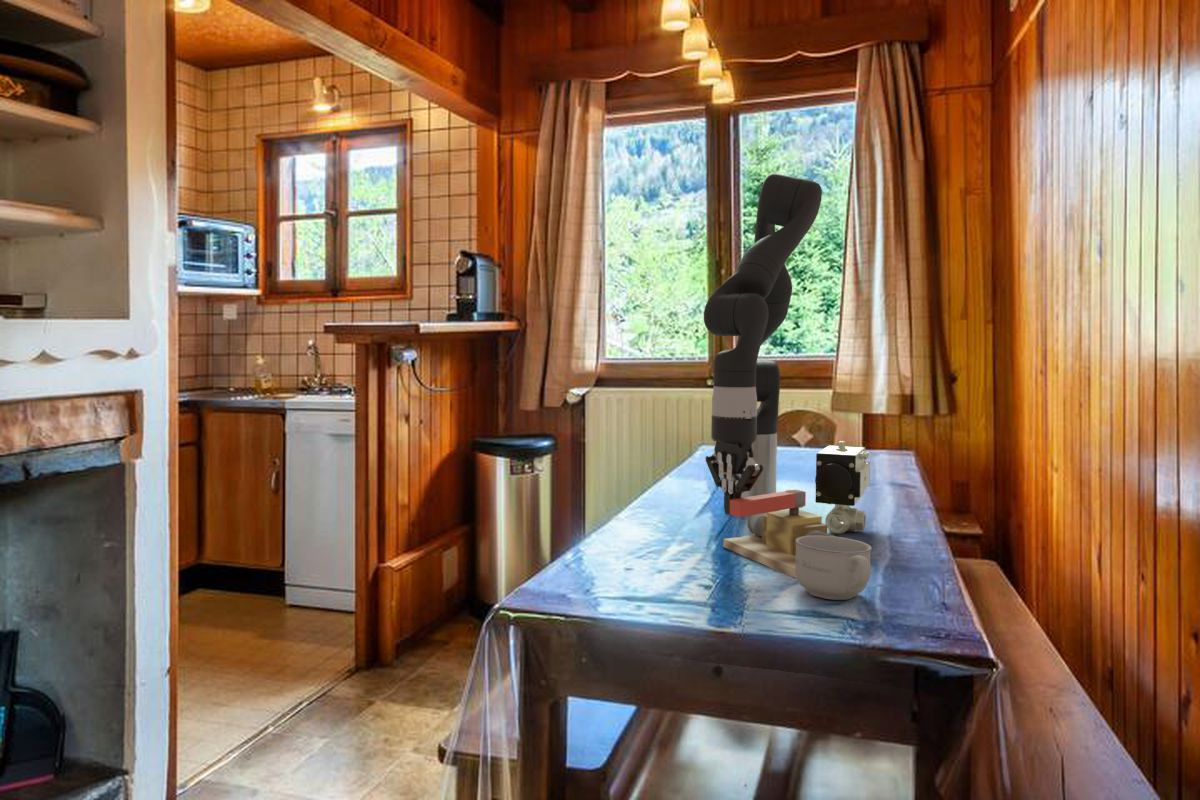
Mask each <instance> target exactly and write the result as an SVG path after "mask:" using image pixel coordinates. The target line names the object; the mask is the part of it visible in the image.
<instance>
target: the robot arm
mask: <svg viewBox="0 0 1200 800" xmlns="http://www.w3.org/2000/svg"><path fill="white" fill-rule="evenodd" d="M758 196H759V197H758V201H757V210H756V219H755V220H756V221H755V232H754V241H753V244H752V245H751V246H750V247H749V248H748V249H747V250H746V251H745V252H744V254H743V255H742V257H741V259H740V260H739V263H738V265H737V267H736V269H735V271H734V273H733V274H732V275H731V276H729V277H728V278H727V279H726V280H725V281H724V282H723V283H722V284H720V286H719V287H717V289H716V290H714V292H713V293H712V294H711V295H710V297H709V298H708V300H707V301H706V303H705V306H704V311H703V322H704V326H705V328H706V329H707V330H708V332H709V333H711V334H712V335H714V336H717V337H718V336H719V337H737V341H736V345H735V347H734V348H732V349H726V350H722V351H720V352H718V353H716V355H715V356H714V360H713V361H714V362H713V390H712V397H711V426H710V427H711V434H710V435H711V440H712V441H713V442H715V445H714V449H713V450H714V452H713V454H711V455H706V456H705V462H706V464H707V467H708V470H709V472H710V474H711V477H712V479H713V481H714V484H715V486H716V487H717V488H721V491H722V492H723V509H724V514H725V515H727V516H731V517H734V516H733V515H730V500H731V499H738V498H744V497H751V496H757V495H764V494H770V493H777V467H778V466H777V465H778V464H777V463H778V462H777V460H778V459H777V457H778V454H777V453H778V420H779V406H780V405H779V404H780V403H779V402H780V390H781V372H780V368H779V364H778V363H777V362H776V361H774V360H771V359H770V360H769V359H768V360H765V359H763V360H762V359H760V360H759V359H758V357H759V354H760V353H759V352H760V350H761V347H762V345H763V344H764V343H765V342H766V341H767V340H768V339H769V338H770V337H771V336H772V335H773V334H774V333H775V332H776V331H777V330H778V329H779V327H780V326H781V325H782V324H783V322H784V321H785V319H786V318H787V316H788V312H789V307H790V303H791V297H792V293H793V284H792V278H791V276H790V273H789V271H788V268H787V267H786V264H785V263H786V262H787V261H788V259H789V258H790V256H791V255H792V253H794V251H795V250H796V248H797V247H798V246H799V244H800V243H802V241H803V240H804V238H805V236H806V235H807V233H808V232H809V231H810V229H811V227H812V226H813V225H814V222H815V220H816V219H817V216H818V215H819V211H820V208H821V203H822V198H823V197H822V196H823V190H822V186H821V185H820V183H818V182H817V181H813V180H810V179H805V178H801V177H796V176H791V175H787V174H783V173H782V174H781V173H770V174H769V175H768V176H766V178H765V179H764V180H763V184H762V185H761V189H760V191H759V195H758ZM776 226H779V227H781V228H780V229H779V228H778V229H777V230H776ZM758 403H759V406H758Z"/></svg>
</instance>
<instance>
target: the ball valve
mask: <svg viewBox="0 0 1200 800" xmlns="http://www.w3.org/2000/svg"><path fill="white" fill-rule="evenodd" d="M869 454H870V453H869V451H866V447H865V446H854V445H853V446H852V445H846V441H845V440H844V441H843V440H840V441H838V445H836V444H835V445H833V444H829V445H828V446H826V447H824V448H823V449H821V450H820V451H819V452H817V453H816V454H815V457H816V458H815V463H816V464H815V465H816V466H815V477H814V478H815V479H814V483H815V503H816V504H817V503H818V504H827V505H834V507H833V508H832V509H831V510H830V511H829V512H828V513H827V515H825V516H826V517H825V520H824V521H825V522H824V524H826V525H827V530H828V531H830V532H831V533H833V534H837V535H840V534H844V533H846V532H850V533H857V531H865V529H866V524H867V523H866V521H867V520H866V516H867V515H866V511H864V510H859V509H858V508H856V507H855V508H854V506H855V505H857V503H858V501H860V499H861V498H862V496H863V495H864V494H865V491H866V490H867V489H868V487H869V486H870V477H871V476H870V475H871V472H870V471H871V469H870V467H871V462H870V461H866V460H868V459H869V458H870V457H869Z"/></svg>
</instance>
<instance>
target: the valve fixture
mask: <svg viewBox="0 0 1200 800" xmlns="http://www.w3.org/2000/svg"><path fill="white" fill-rule="evenodd" d="M822 518H823V517H822V516H821V515H818V514H815V513H812V512H809V511H805V510H802V509H800V508H791V509H786V510H780V511H774V512H768V513H762V514H757V515H751V516H749V518H748V522H747V528H748V530H749V532H750V533H751V535H743V536H738V537H737V536H736V537H735V536H734V537H729V538H723V542H722V543H723V546H722V547H723V548H725V549H727V550H730V551H732V552H735V553H736V554H738V555H742V556H743V557H746V558H748V559H750V560H753V561H755V562H756V563H757V562H758V563H760V564H762V565H765V566H767V567H769V568H771V569H774V570H776V571H778V572H780V573H783V574H785V575H787V574H788V576H789V575H790V577H792V576H793V577H792V578H794V577H795V579H796V578H797V577H796V571H795V559H796V539H797V538H799V537H802V536H814V535H819V536H833V537H837V536H836V535H833V534H832V535H831V534H829V533H828V528H827V525H826V523H823V522H822Z"/></svg>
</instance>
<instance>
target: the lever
mask: <svg viewBox="0 0 1200 800" xmlns="http://www.w3.org/2000/svg"><path fill="white" fill-rule="evenodd" d="M806 494H807V493H806V491H803V490H798V489H787V490H785V491H776V493H770V494H764V495H757V496H751V497H744V498H738V499H731V500H730V515H733V516H732V517H737V518H744V517H750V516H751V515H757V514H762V513H766V514H767V513H768V512H774V511H783V510H789V509H791V508H799V509H800V508H801V509H802V508H804V507H806V497H807V495H806ZM730 515H729V516H730Z"/></svg>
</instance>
